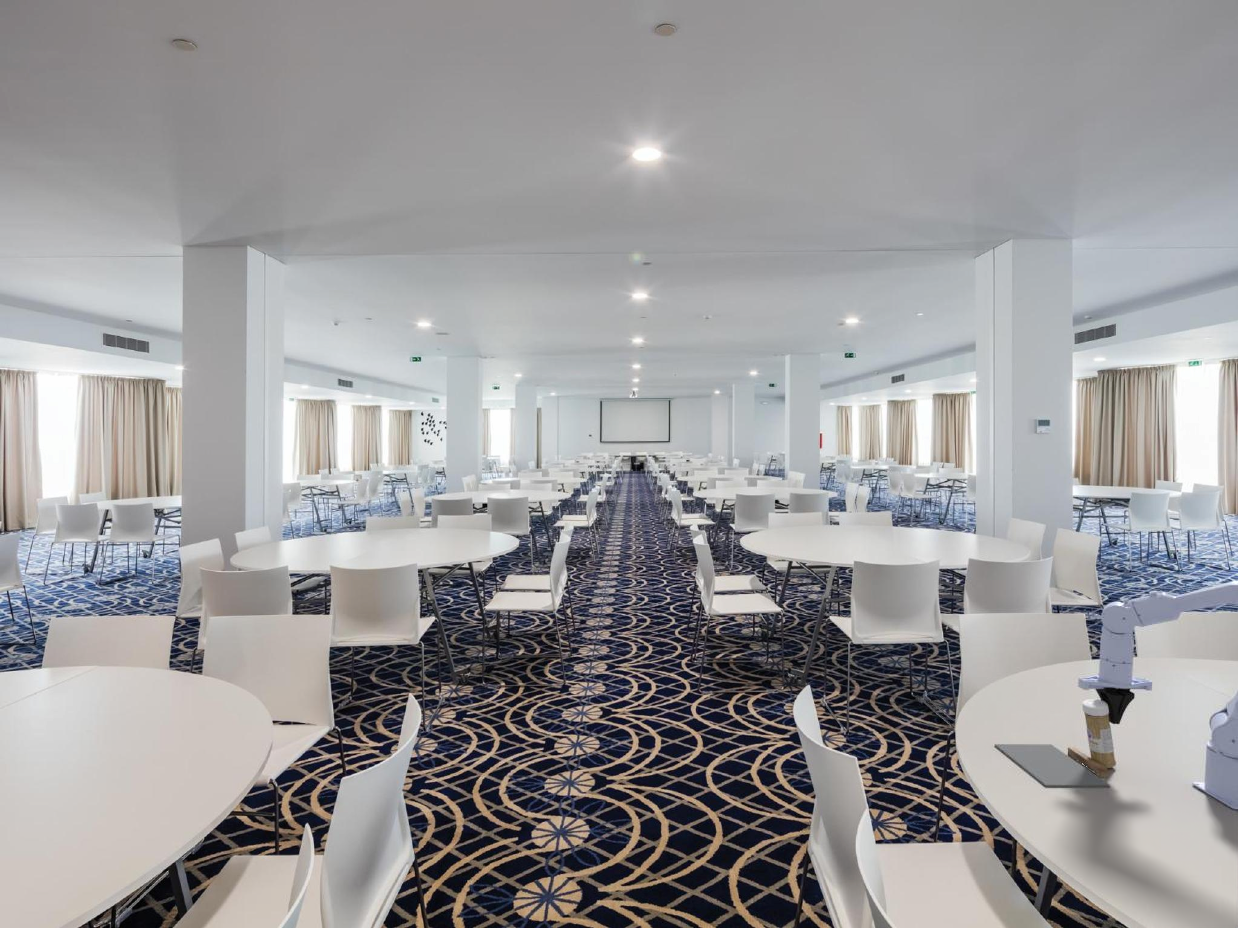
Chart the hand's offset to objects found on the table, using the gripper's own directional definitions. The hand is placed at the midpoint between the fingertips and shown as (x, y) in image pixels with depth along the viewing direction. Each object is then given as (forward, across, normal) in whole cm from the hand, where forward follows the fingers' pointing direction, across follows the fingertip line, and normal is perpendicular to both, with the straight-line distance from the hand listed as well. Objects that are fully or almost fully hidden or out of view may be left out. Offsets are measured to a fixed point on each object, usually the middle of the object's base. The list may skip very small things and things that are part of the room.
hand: (1113, 722), depth 146 cm
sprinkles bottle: (+9, +2, 0) cm, 9 cm away
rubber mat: (+10, +14, 0) cm, 17 cm away
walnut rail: (+9, +5, 0) cm, 11 cm away
